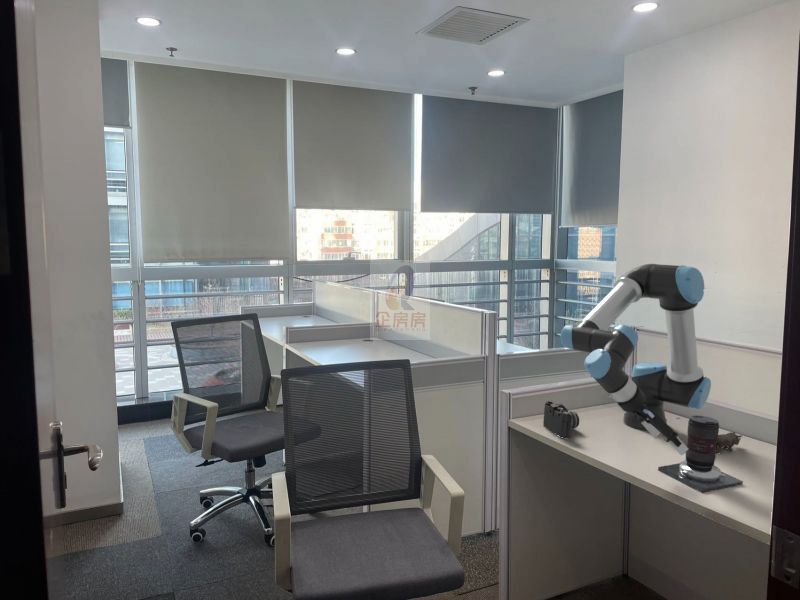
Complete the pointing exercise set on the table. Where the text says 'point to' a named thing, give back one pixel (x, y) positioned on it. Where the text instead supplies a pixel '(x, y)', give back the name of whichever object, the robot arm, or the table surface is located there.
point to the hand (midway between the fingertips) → (670, 442)
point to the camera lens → (701, 443)
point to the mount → (700, 477)
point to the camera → (559, 419)
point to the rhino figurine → (727, 441)
